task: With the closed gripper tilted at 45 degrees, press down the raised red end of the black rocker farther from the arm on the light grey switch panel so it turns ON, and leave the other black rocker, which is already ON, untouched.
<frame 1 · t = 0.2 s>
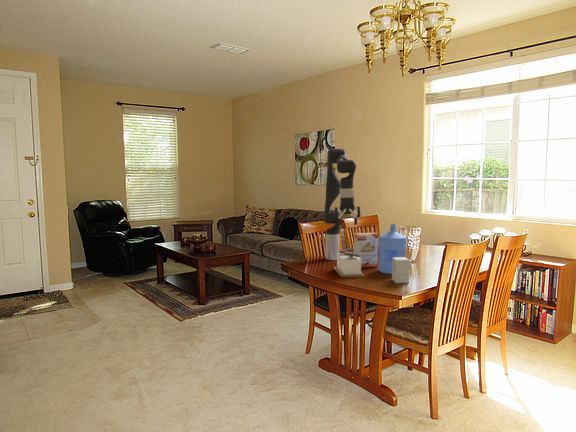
hand: (347, 225, 236), 29 cm above the table, tool pointing down, fingers open, 8 cm apart
water jug: (391, 271, 248), on the table
supplement box: (400, 281, 226), on the table
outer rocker: (351, 255, 239), point 12 cm above the table, hinge at -12.0°
cracker box: (365, 266, 261), on the table
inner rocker: (346, 251, 250), point 12 cm above the table, hinge at 12.0°
switch panel: (348, 272, 246), on the table
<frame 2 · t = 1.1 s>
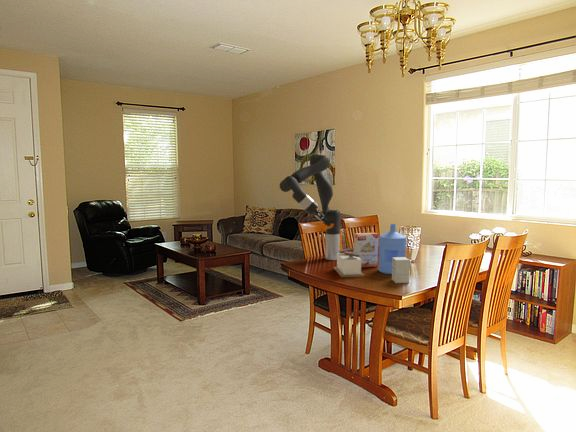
hand: (328, 224, 241), 28 cm above the table, tool tilted 45°, fingers open, 7 cm apart
nothing on the table moved.
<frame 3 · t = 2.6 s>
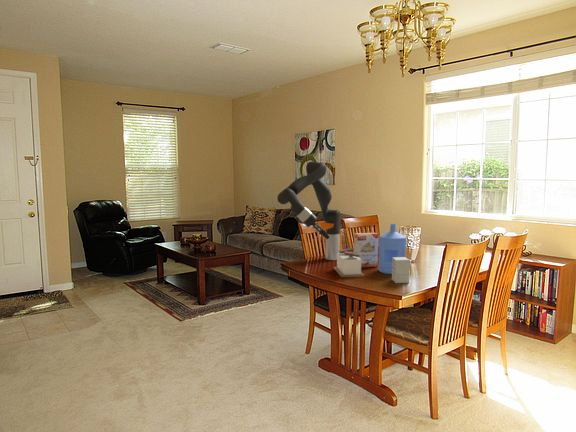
hand: (328, 238, 237), 21 cm above the table, tool tilted 45°, fingers closed
nothing on the table moved.
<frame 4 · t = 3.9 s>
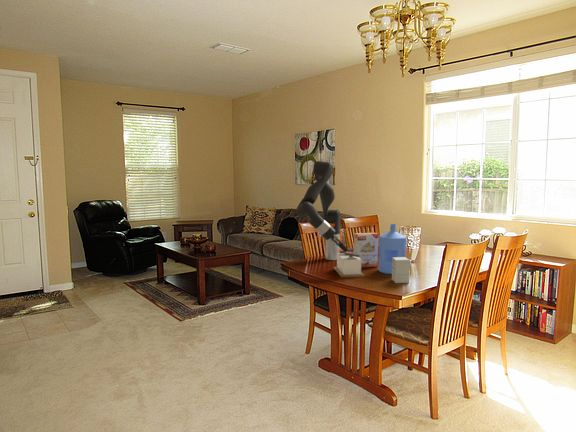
hand: (346, 250, 238), 14 cm above the table, tool tilted 45°, fingers closed
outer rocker: (351, 255, 239), point 12 cm above the table, hinge at -11.9°, touching gripper
everything else where it was.
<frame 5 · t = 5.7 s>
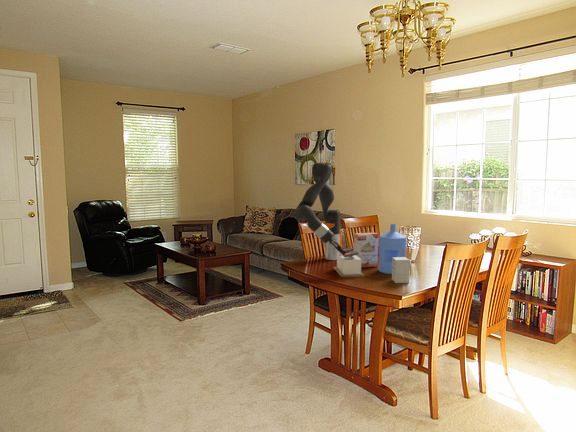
hand: (344, 254, 238), 12 cm above the table, tool tilted 45°, fingers closed
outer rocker: (350, 255, 239), point 12 cm above the table, hinge at 11.7°, touching gripper
everything else where it was.
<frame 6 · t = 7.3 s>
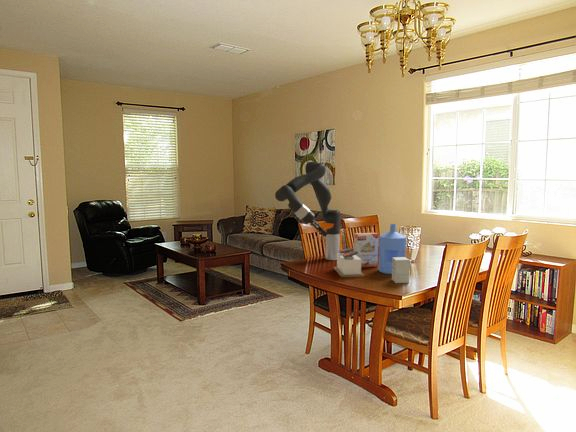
hand: (325, 235, 236), 23 cm above the table, tool tilted 45°, fingers closed
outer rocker: (350, 255, 239), point 11 cm above the table, hinge at 18.4°
everything else where it was.
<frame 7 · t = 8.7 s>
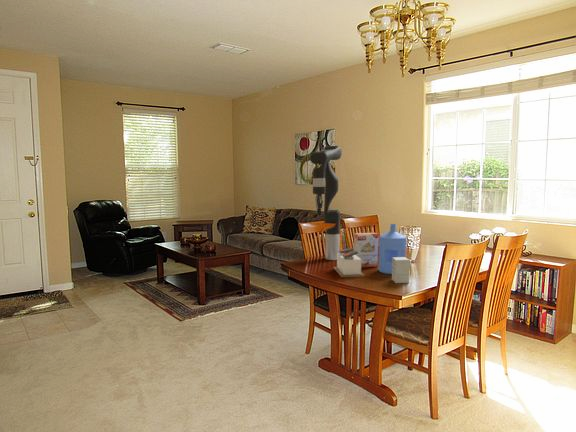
hand: (318, 215, 250), 33 cm above the table, tool pointing down, fingers closed
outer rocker: (350, 255, 239), point 11 cm above the table, hinge at 20.0°
everything else where it was.
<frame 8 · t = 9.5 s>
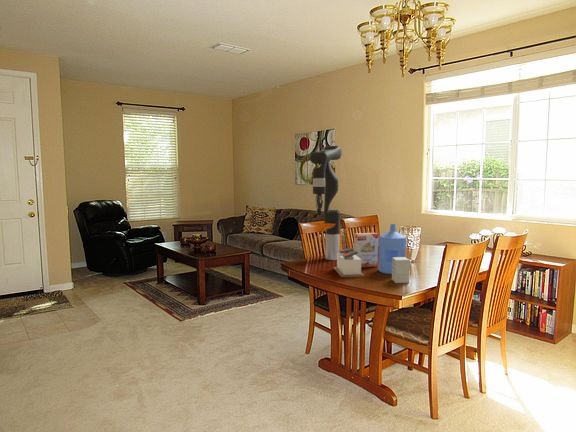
hand: (318, 215, 250), 33 cm above the table, tool pointing down, fingers closed
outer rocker: (350, 255, 239), point 11 cm above the table, hinge at 20.3°
everything else where it was.
at the end: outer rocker at +20° (first picture: -12°); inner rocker at +12° (first picture: +12°) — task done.
